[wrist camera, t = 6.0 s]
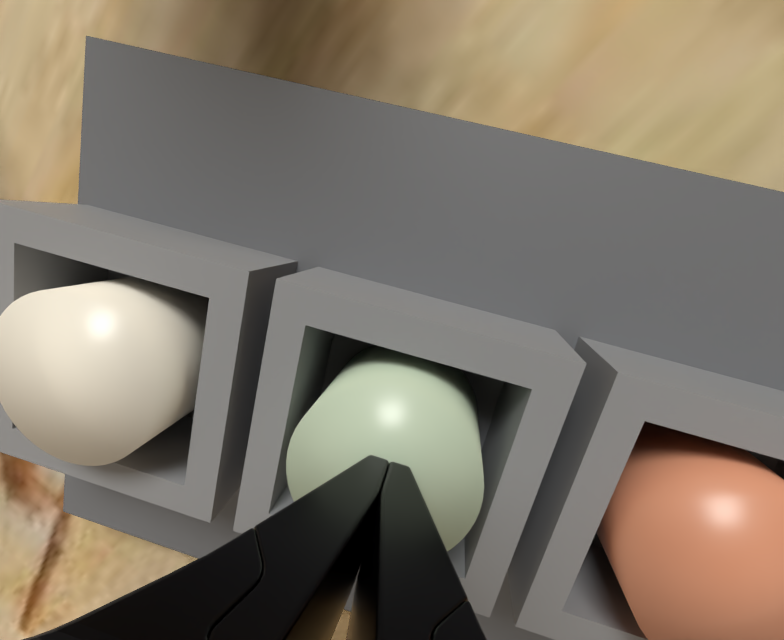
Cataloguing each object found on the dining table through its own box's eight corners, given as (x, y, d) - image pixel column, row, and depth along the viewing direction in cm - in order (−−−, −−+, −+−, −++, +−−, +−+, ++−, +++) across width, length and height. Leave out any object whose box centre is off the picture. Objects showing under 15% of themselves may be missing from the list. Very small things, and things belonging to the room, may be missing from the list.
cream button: (243, 294, 11) (163, 318, 8) (223, 422, 12) (145, 488, 9) (112, 257, 12) (-12, 267, 9) (102, 385, 13) (-12, 435, 10)
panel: (893, 232, 10) (1175, 235, 6) (656, 674, 14) (736, 856, 10) (130, 58, 12) (-32, -25, 8) (99, 485, 16) (-24, 573, 12)
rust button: (782, 444, 10) (925, 540, 7) (712, 575, 11) (809, 710, 8) (614, 397, 10) (679, 468, 7) (560, 528, 11) (598, 639, 8)
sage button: (496, 364, 11) (511, 420, 8) (454, 494, 12) (452, 590, 9) (348, 323, 11) (305, 360, 8) (319, 452, 12) (271, 530, 9)
